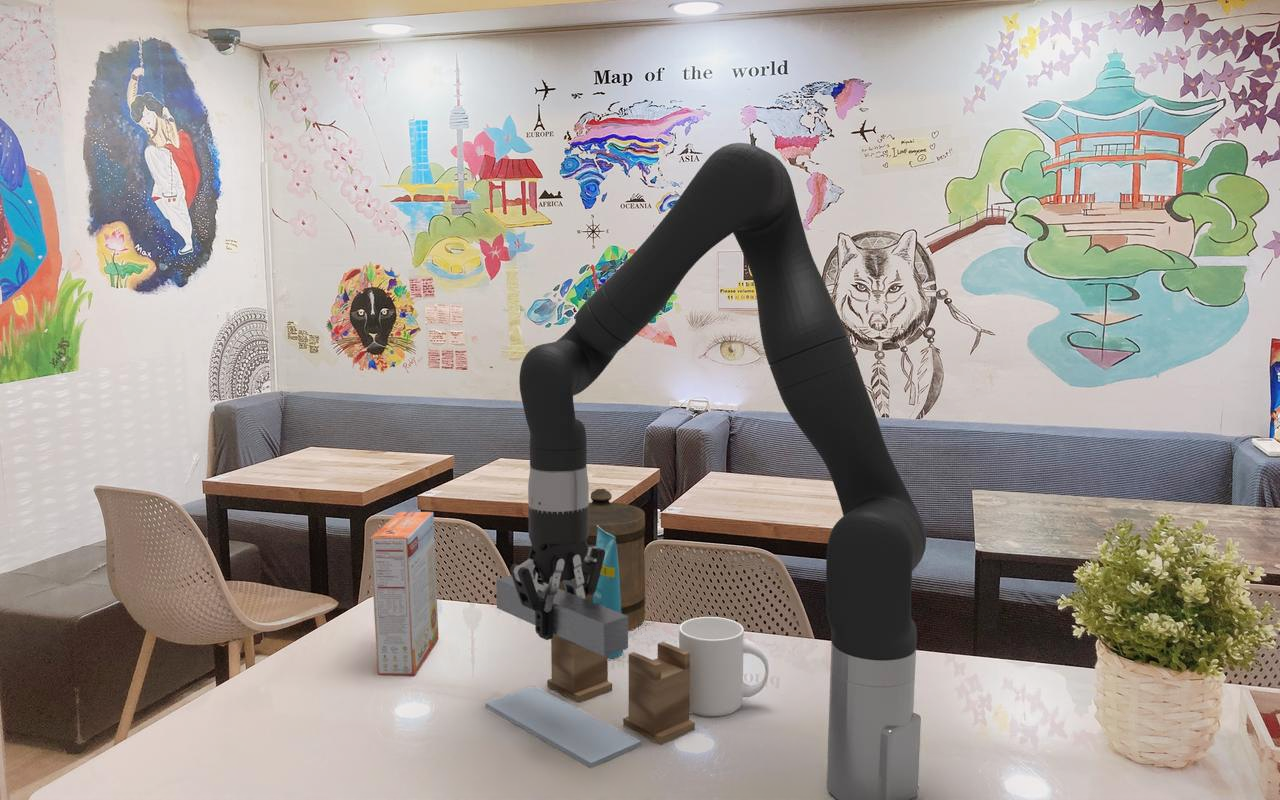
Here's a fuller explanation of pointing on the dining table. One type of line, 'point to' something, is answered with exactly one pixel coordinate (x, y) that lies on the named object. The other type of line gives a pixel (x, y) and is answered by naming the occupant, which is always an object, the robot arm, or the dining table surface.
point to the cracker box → (404, 592)
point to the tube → (608, 577)
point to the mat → (563, 726)
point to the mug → (718, 664)
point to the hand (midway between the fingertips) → (559, 632)
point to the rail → (572, 618)
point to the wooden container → (622, 550)
